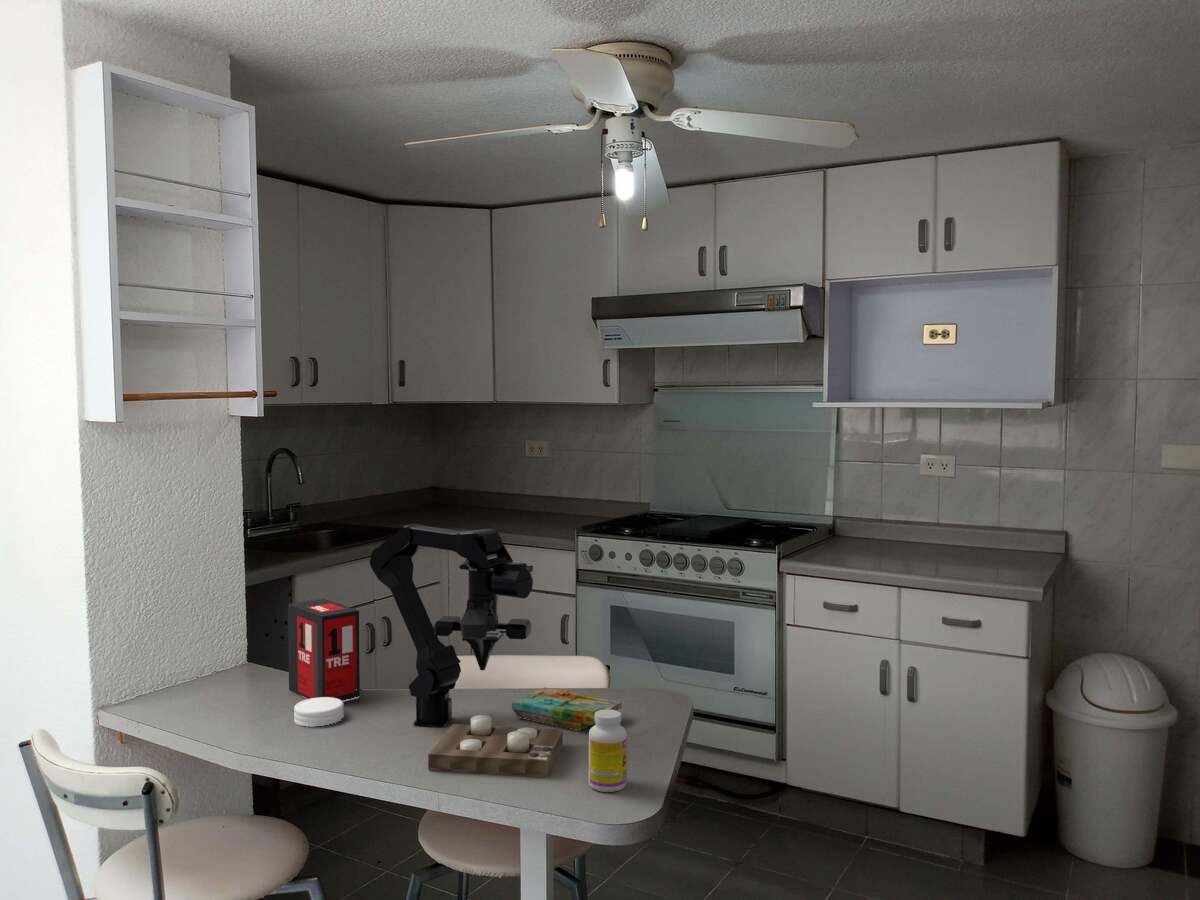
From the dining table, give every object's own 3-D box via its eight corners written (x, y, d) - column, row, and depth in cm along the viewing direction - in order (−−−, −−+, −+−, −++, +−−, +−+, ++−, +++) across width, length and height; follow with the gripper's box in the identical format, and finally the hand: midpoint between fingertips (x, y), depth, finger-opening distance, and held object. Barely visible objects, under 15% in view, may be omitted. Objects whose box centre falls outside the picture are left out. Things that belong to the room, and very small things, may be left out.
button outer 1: (457, 760, 175) (457, 746, 174) (463, 752, 179) (463, 738, 178) (478, 761, 174) (478, 747, 174) (484, 753, 178) (484, 739, 178)
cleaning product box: (288, 690, 218) (287, 604, 217) (324, 682, 224) (323, 598, 223) (322, 707, 206) (321, 616, 205) (359, 698, 212) (358, 610, 211)
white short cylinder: (297, 731, 192) (296, 714, 192) (291, 716, 201) (291, 699, 201) (347, 724, 196) (347, 707, 196) (339, 709, 205) (339, 694, 205)
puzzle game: (542, 683, 210) (621, 698, 200) (542, 704, 210) (621, 720, 200) (511, 698, 199) (594, 714, 190) (511, 720, 200) (593, 737, 190)
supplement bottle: (628, 793, 163) (629, 719, 162) (589, 794, 162) (590, 720, 161) (624, 777, 169) (624, 706, 169) (587, 778, 169) (587, 707, 168)
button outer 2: (505, 752, 173) (505, 738, 173) (510, 744, 177) (510, 730, 177) (526, 753, 173) (526, 739, 173) (531, 745, 177) (531, 731, 177)
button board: (428, 770, 172) (428, 752, 172) (453, 738, 188) (453, 722, 188) (547, 777, 169) (547, 759, 169) (562, 744, 185) (562, 728, 185)
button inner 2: (514, 748, 181) (514, 734, 181) (518, 740, 185) (518, 727, 185) (534, 749, 180) (534, 735, 180) (538, 741, 184) (539, 728, 184)
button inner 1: (468, 735, 182) (468, 721, 182) (473, 728, 186) (473, 714, 186) (488, 736, 181) (488, 722, 181) (493, 729, 185) (493, 715, 185)
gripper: (424, 599, 183) (425, 679, 184) (519, 603, 180) (519, 684, 181) (442, 588, 194) (442, 663, 195) (531, 591, 191) (531, 667, 192)
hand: (482, 669), depth 190 cm, fingers closed
